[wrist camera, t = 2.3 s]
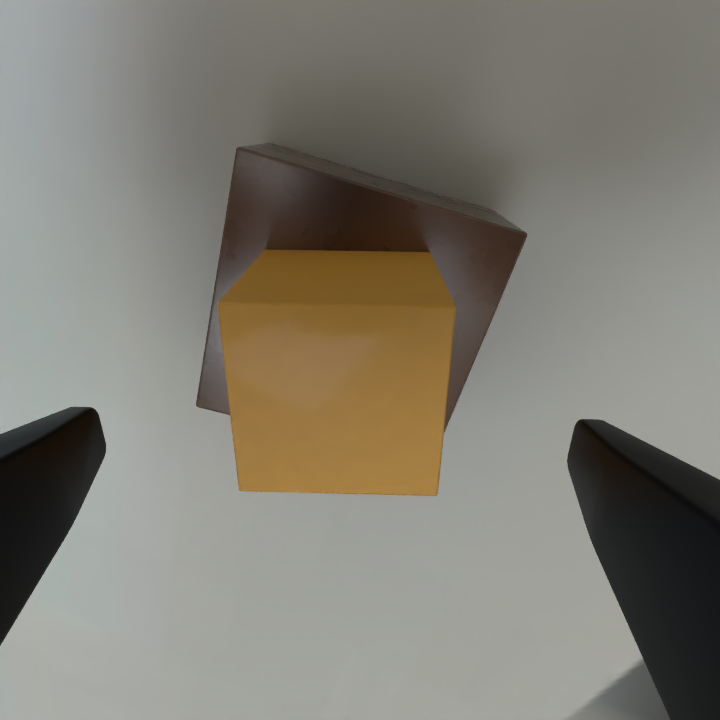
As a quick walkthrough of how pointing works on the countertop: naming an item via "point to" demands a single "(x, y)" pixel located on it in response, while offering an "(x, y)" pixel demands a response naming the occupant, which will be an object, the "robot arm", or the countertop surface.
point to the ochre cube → (338, 371)
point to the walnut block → (358, 242)
